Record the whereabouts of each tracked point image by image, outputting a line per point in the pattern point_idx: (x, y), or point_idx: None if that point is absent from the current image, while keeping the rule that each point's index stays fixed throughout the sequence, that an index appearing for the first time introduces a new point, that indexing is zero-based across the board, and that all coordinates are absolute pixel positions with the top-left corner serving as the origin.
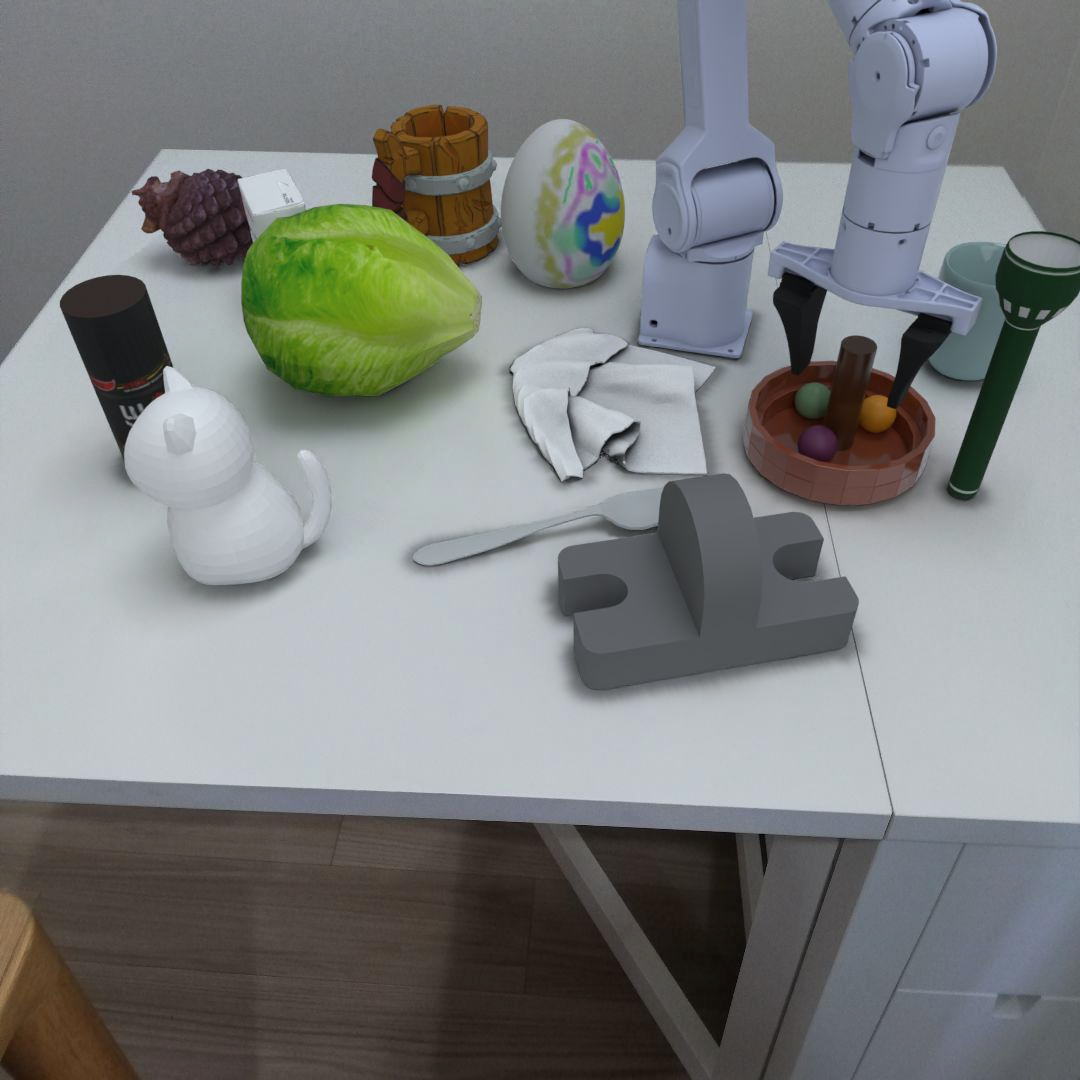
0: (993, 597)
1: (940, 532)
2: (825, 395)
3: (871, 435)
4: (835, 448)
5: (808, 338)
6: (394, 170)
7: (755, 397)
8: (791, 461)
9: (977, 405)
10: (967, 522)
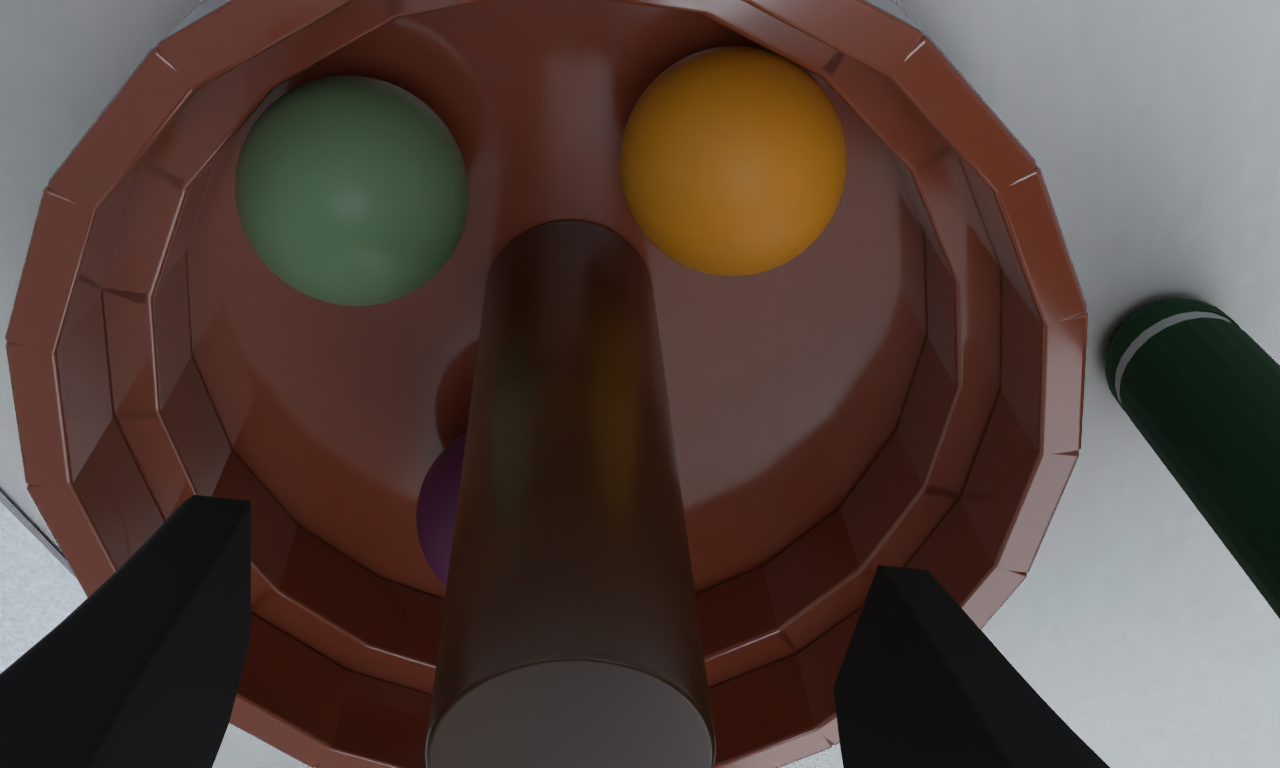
0: (1215, 745)
1: (1064, 575)
2: (418, 261)
3: None
4: None
5: (164, 761)
6: None
7: (82, 532)
8: None
9: None
10: (1168, 494)
